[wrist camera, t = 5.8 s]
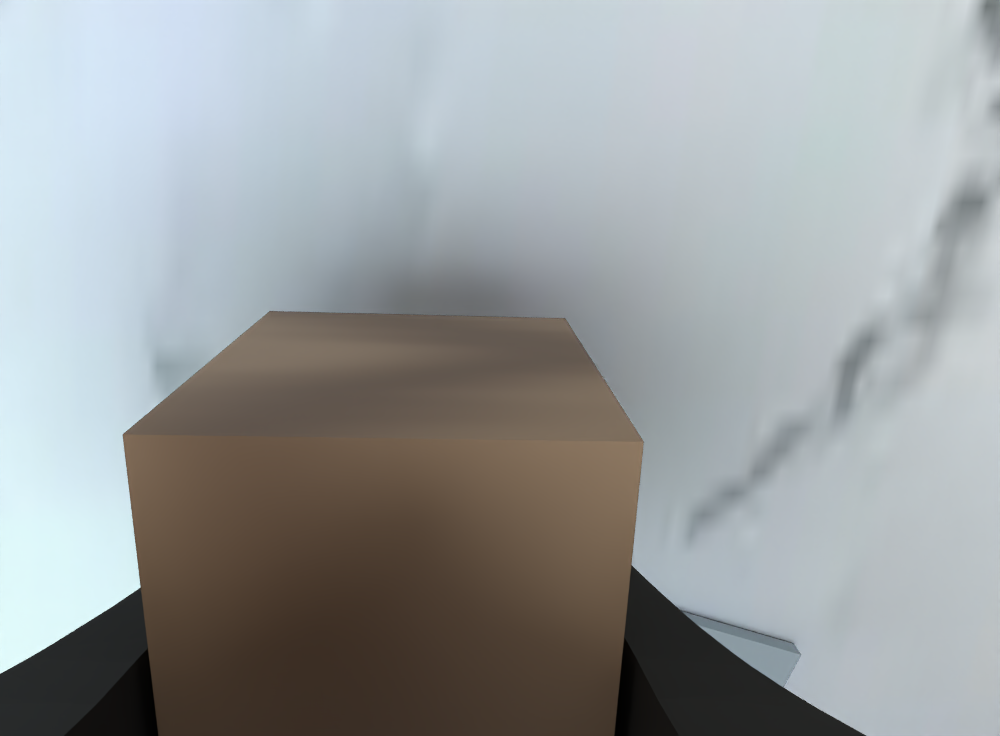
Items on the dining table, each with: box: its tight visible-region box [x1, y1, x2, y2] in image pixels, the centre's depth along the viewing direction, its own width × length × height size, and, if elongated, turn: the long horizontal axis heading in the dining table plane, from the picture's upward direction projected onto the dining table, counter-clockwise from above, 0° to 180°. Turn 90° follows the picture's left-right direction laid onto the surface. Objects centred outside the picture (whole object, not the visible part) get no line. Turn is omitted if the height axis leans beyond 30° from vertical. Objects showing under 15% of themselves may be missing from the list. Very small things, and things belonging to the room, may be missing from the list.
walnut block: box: [123, 311, 644, 736], centre depth 10 cm, size 4×8×5 cm, turn 178°
